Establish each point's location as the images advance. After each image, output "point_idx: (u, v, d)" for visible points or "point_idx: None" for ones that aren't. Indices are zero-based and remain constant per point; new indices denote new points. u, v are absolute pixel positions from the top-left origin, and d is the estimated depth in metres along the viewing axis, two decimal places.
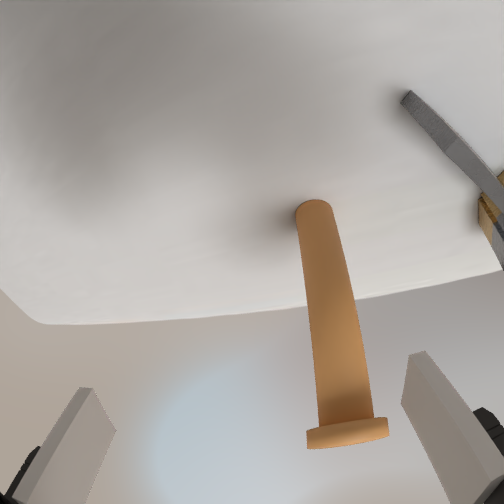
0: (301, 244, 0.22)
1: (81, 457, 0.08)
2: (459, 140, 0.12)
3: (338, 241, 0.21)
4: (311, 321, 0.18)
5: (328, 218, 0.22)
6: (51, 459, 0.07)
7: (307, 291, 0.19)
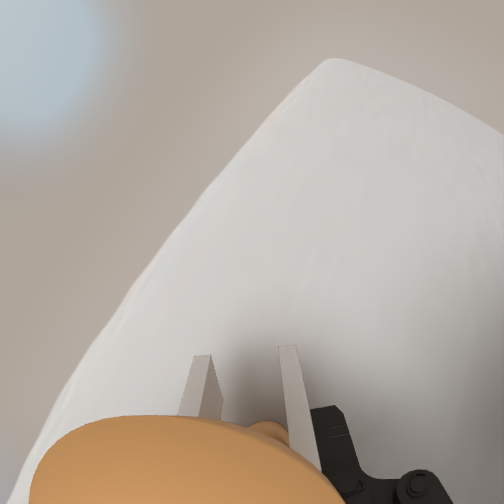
0: (286, 435, 0.14)
1: None
2: None
3: None
4: None
5: None
6: None
7: (284, 440, 0.11)
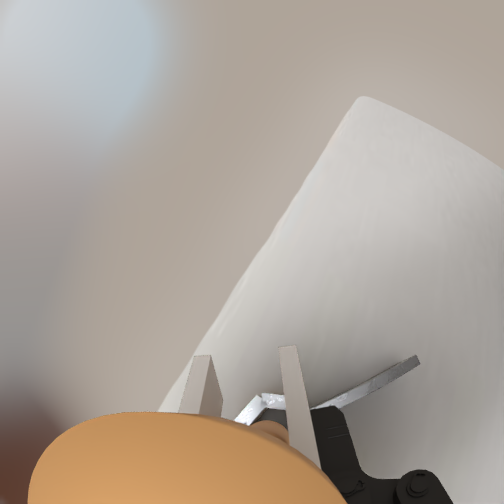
0: (286, 434, 0.14)
1: None
2: (418, 364, 0.28)
3: None
4: None
5: None
6: None
7: (284, 439, 0.11)
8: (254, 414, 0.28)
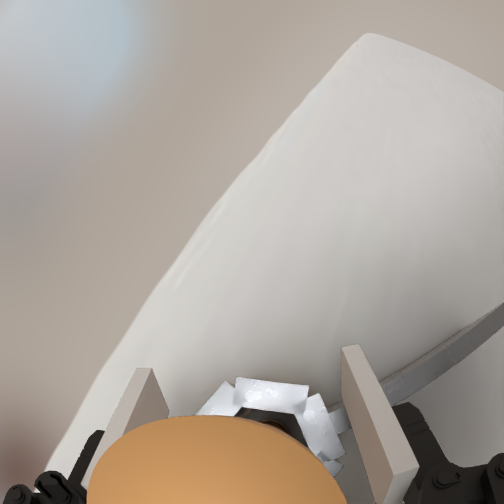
0: (286, 432, 0.15)
1: None
2: None
3: None
4: None
5: None
6: None
7: None
8: None
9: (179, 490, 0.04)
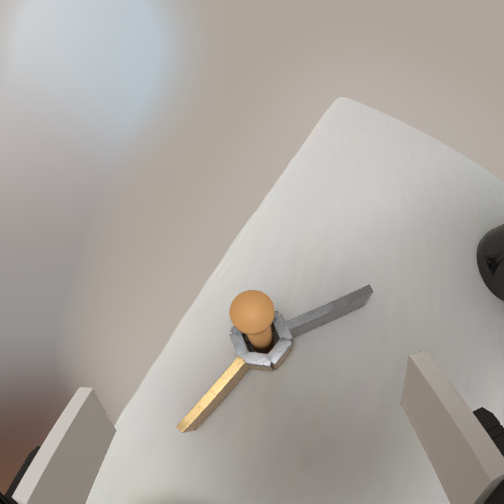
0: None
1: (81, 457, 0.08)
2: (371, 291, 0.41)
3: (262, 350, 0.41)
4: None
5: (267, 351, 0.43)
6: (51, 459, 0.07)
7: None
8: None
9: (247, 302, 0.31)
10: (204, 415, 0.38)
